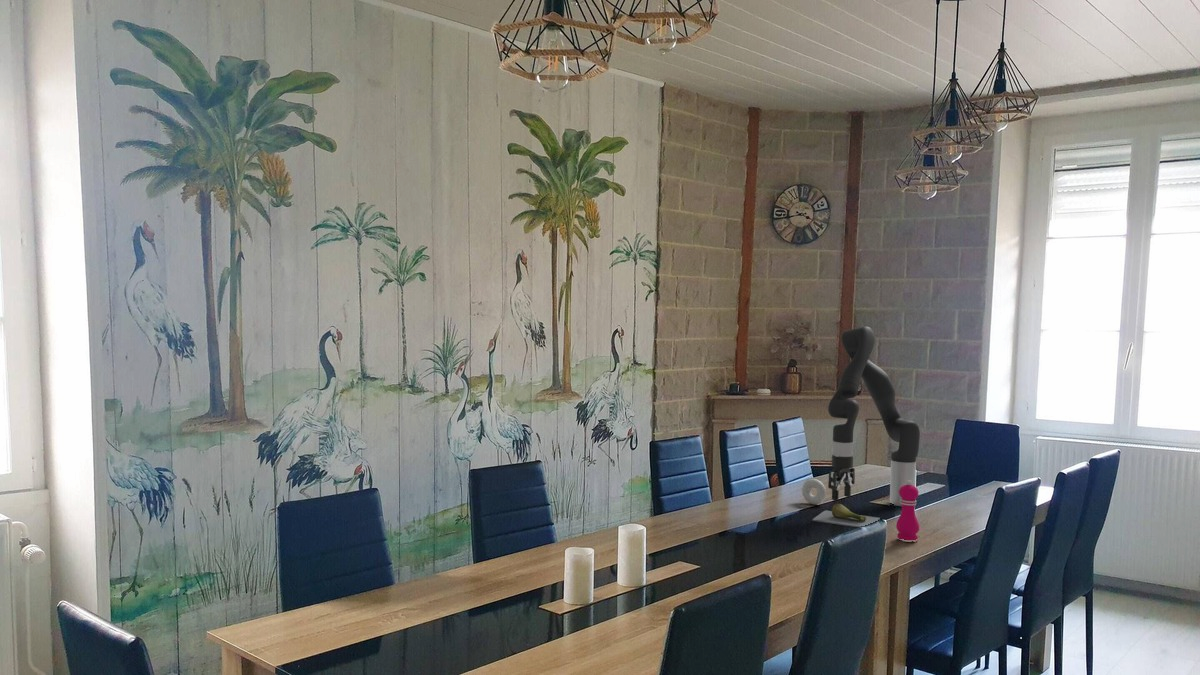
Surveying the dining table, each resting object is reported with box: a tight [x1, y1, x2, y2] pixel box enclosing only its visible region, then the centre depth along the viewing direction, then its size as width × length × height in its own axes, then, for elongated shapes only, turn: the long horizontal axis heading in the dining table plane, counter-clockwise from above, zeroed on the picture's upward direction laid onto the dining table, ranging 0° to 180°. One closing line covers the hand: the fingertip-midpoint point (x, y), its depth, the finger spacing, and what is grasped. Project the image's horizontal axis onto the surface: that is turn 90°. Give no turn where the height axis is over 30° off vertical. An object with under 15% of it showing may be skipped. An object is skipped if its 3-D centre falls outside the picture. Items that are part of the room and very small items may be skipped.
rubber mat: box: [812, 509, 881, 528], centre depth 304 cm, size 16×20×1 cm
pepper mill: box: [895, 480, 920, 540], centre depth 278 cm, size 7×7×20 cm
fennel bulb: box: [831, 503, 866, 521], centre depth 302 cm, size 6×5×12 cm
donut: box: [801, 478, 827, 506], centre depth 327 cm, size 10×4×10 cm, turn 47°
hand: (841, 498), depth 304 cm, fingers open, 8 cm apart
